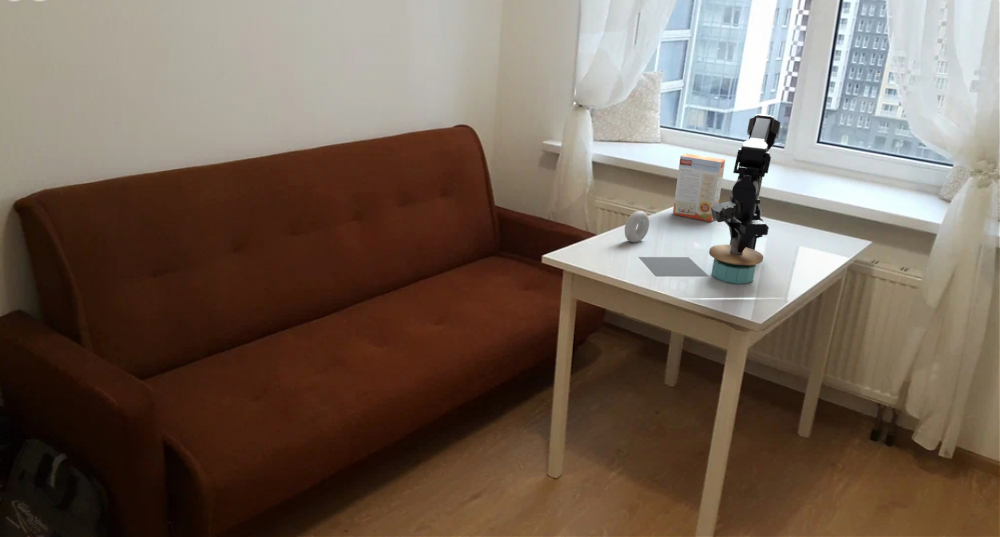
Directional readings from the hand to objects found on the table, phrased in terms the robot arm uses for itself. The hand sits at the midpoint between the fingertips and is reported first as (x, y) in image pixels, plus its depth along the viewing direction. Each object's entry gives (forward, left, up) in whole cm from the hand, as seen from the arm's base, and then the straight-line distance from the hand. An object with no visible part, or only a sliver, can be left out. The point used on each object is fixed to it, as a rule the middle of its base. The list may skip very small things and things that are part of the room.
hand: (736, 250), depth 204 cm
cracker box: (-12, -58, -8) cm, 60 cm away
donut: (+18, -30, -8) cm, 36 cm away
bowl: (0, 0, -8) cm, 8 cm away
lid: (0, 0, -2) cm, 2 cm away
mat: (+14, -8, -8) cm, 18 cm away
